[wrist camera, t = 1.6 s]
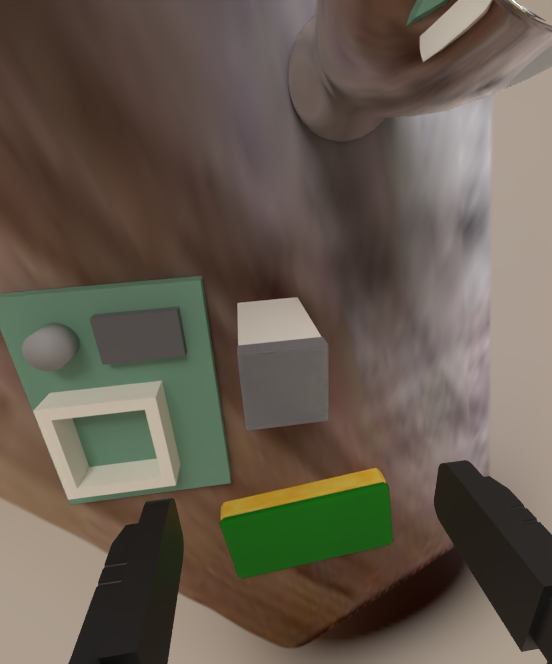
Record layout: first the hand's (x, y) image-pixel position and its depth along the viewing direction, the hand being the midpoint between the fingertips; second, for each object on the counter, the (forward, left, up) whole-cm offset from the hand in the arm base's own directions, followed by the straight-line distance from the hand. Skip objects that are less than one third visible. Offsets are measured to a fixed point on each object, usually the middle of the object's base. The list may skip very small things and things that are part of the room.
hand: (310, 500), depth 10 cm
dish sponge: (+18, +2, -15) cm, 23 cm away
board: (+4, -10, -14) cm, 18 cm away
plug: (0, 0, -14) cm, 14 cm away
